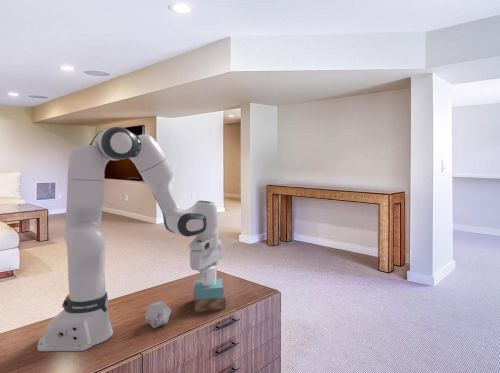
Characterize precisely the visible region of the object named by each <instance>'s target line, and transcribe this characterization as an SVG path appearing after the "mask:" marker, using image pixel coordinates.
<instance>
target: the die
mask: <svg viewBox="0 0 500 373" xmlns="http://www.w3.org/2000/svg"><path fill="white" fill-rule="evenodd" d="M171 313H172V309H171V308H170V307H169V306H168V305H167V304H166V303H165V302H164V301H163V300H161V301H157V302H154V303H151V304H149V305H148V306H147V310H146V313H145V316H144V320H146V321H147V323H148V324H149V325H150V326H151V327H152V328H153V329H156V328H159V327H161V326H165V325H167V324H168V323H169V320H170V316H171Z"/></svg>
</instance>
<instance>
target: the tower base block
mask: <svg viewBox="0 0 500 373" xmlns="http://www.w3.org/2000/svg"><path fill="white" fill-rule="evenodd" d="M193 296H194V297H193V298H194V302H193V303H194V304H193V305H194V312H195V313H196V312H206V311H207V312H208V311H215V310H216V311H217V310H225V309H226V308H227V307H226V306H227V305H226V303H227V302H226V295H225V290H224V289H223V298H212V299H198V300H195V288H193Z"/></svg>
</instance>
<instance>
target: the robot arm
mask: <svg viewBox="0 0 500 373" xmlns="http://www.w3.org/2000/svg"><path fill="white" fill-rule="evenodd" d="M126 159H128V160H130V161H131V162H132V163H133V164H134V166H135V167H136V170H137V171H138V173H139V175H140V176H141V178H142V179H143V181H144V183H145V184H146V185H147V187H148V188H149V190H150V191H151V192H152V195H153V196H154V199H155V200H156V202H157V204H158V206H159V208H160V210H161V213H162V218H163V225H164V227H165V229H166V230H167V231H168V232H170V233H173V234H177V235H180V236H183V237H187V238H188V237H189V238H190V237H193V236H195V237H194V239H193V240H192V241H191V242H190V243H189V245H188V246H189V247H188V248H189V249H188V250H190V251H189V265H190V268H191V270H192V271H198V272H199V274H200V279H201V278H203V279H204V278H205V277H206V273H205V272H204V270H205V267H206V266H208V265H216V266H217V265H218V261H219V260H221V259H223V258H224V246H223V242H222V240H221V237H219V230H218V224H219V216H218V209H217V205H216V203H214V202H213V201H207V200H198V201H196V202H195V203H194V204H193V205H192V206H190V207H189V208H187V209H185V210H184V209H183V208H181V207H180V206H178V204H177V202H176V200H175V199H174V196H173V194H172V192H171V190H170V188H169V187H170V186H169V185H170V183H171V181H172V179H173V177H174V171H173V169H172V166H171V163H170V161H169V159H168V158H167V156H166V154H165V152H164V151H163V149H162V148H161V146H160V145H159V143H158V142H157V141H156V140H155V138H154V137H153V136H151V135H149V134H139V135H137V134H135V133H134V132H131V131H130V130H128V129H127V128H125V127H122V126H111V127H107V128H104V129H103V130H102V129H101V130H100V131H99V132H97V134H96V135H94V137H93V139H92V141H91V142H90V143H89V145H88V144H84V145H79V146H77V147H75V148H73V150H71V153H70V157H69V160H68V161H69V162H68V168H67V177H66V178H67V179H66V180H67V182H66V183H67V184H66V186H67V188H66V189H67V190H66V206H65V208H66V210H65V221H64V240H65V243H66V244H65V245H66V251H67V253H66V255H67V283H68V294H67V295H66V296H65V297H64V298H65V299H64V300H63V303H62V305H61V308H63V310H62V311H60V312H59V313H58V314H57V315H56V316H54V317H53V318H52V319H51V320H50V321H49V323H47V326H46V329H45V334H44V335H43V336H42V337H41V338H39V340H38V343H37V347H36V348H37V351H38V352H82V351H86V350H88V349H90V348H92V347H93V346H96V345H98V344H101V343H103V342H105V341H107V340H108V339H110V338H111V337H112V336H113V334H114V330H113V327H112V324H111V321H110V317H109V312H108V311H109V310H108V309H109V297H108V292H107V290H106V274H105V273H106V272H105V271H106V270H105V266H106V265H105V264H106V237H105V234H104V232H103V230H102V227H101V226H102V224H101V223H102V214H103V207H104V203H105V202H104V200H105V170H106V166H107V164H108V163H109V162H110V161H121V160H123V161H124V160H126ZM217 267H218V266H217Z"/></svg>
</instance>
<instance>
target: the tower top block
mask: <svg viewBox="0 0 500 373" xmlns="http://www.w3.org/2000/svg"><path fill="white" fill-rule="evenodd" d="M194 289H195V300H198V299H212V298H223V290H224V286H223V279H222V278H216V284H215V285H213V286H203V285H202V282H201V279H195V280H194Z"/></svg>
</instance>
